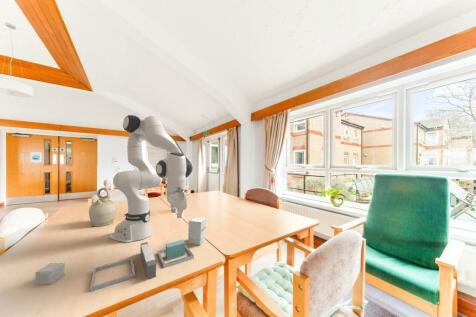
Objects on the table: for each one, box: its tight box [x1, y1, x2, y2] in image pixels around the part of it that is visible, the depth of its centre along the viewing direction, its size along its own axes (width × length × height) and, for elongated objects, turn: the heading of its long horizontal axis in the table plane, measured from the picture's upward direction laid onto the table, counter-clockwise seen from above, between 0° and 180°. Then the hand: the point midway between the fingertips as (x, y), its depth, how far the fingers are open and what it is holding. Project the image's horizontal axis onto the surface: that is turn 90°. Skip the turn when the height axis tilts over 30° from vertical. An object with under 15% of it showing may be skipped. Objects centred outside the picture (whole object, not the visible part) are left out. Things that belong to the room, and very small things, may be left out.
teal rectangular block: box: [164, 239, 186, 262], centre depth 85 cm, size 8×4×6 cm, turn 125°
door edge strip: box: [139, 241, 157, 280], centre depth 78 cm, size 22×3×5 cm, turn 35°
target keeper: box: [89, 257, 136, 292], centre depth 71 cm, size 14×14×1 cm
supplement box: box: [187, 216, 207, 246], centre depth 99 cm, size 7×7×13 cm
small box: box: [34, 262, 66, 286], centre depth 67 cm, size 6×6×5 cm
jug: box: [88, 187, 117, 227], centre depth 124 cm, size 15×16×25 cm
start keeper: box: [156, 244, 195, 268], centre depth 85 cm, size 14×14×1 cm
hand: (176, 215), depth 85 cm, fingers open, 8 cm apart
